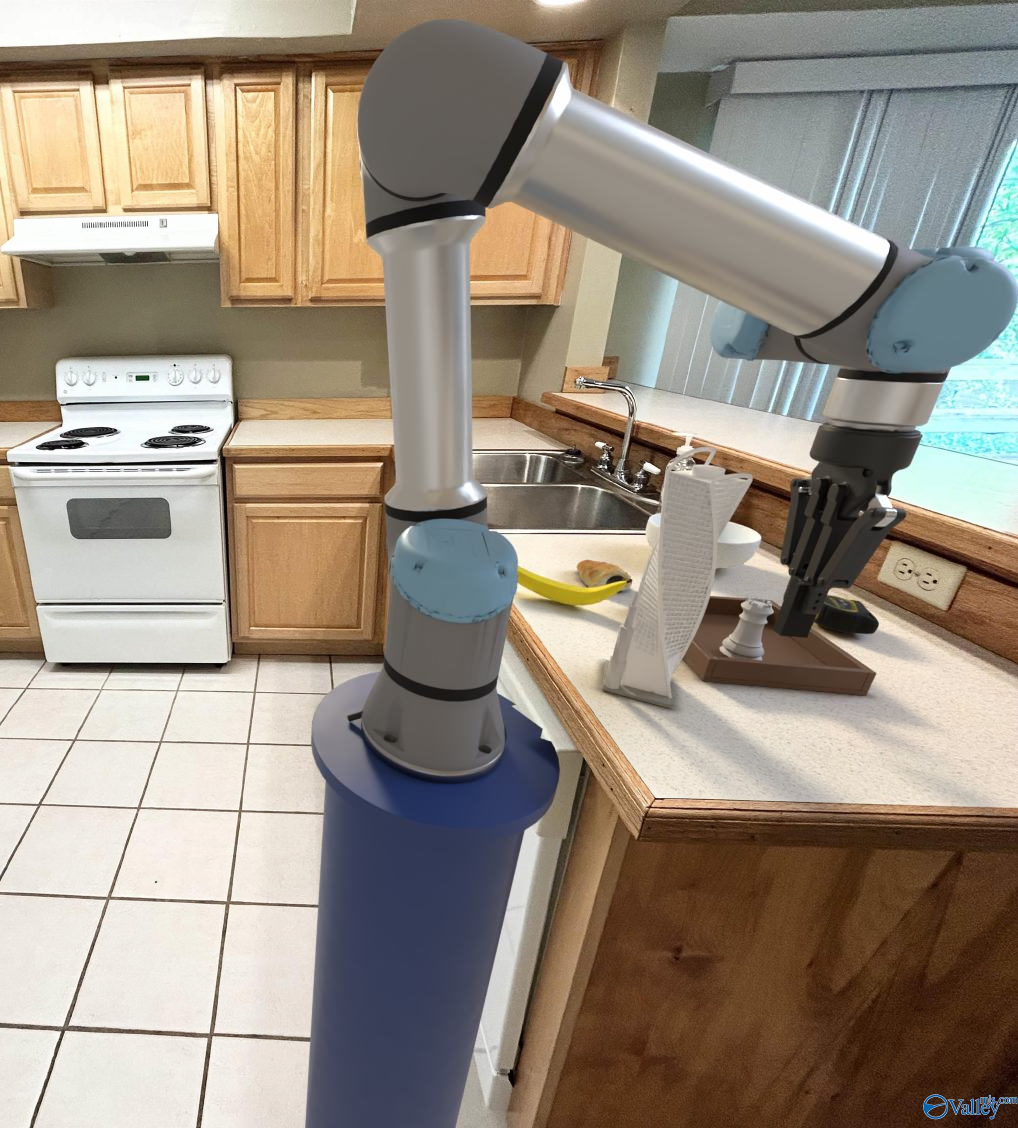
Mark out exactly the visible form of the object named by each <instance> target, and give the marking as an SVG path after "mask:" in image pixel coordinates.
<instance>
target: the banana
mask: <svg viewBox="0 0 1018 1128" xmlns="http://www.w3.org/2000/svg"><path fill="white" fill-rule="evenodd" d="M517 573H518V583H517V584H518V585H520V586H522V587H523V588H525V589H527V590H529V591H530V592H532V593H534V594H537V595H539V596H540V597H543V598H546V599H549V600H550V601H554V602H558V603H560V604H564V605H570V606H581V607H583V606H591V605H595V604H598V603H601V602H603V601H605V600H608V599H609V598H611V597H613V596H614V595H616V594H617V593H619V592H621V591H620V590H621V589H623V588H624V587H625V586H626V585H627V584H628V583H631V582H632V583H633V579H632V578H631V579H629V580H627V581H619V582H615V583H611V584H607V585H604V586H600V587H594V588H589V587H585V586H584V587H583V586H577V585H573V584H568V583H564V582H560V581H558V580H557V581H556V580H554V579H550V578H547V577H545V576H542V575H539V574H537V573H535V572H532V571H530V570H527V569H526V568H524V567H522V566H519V565H518V570H517Z"/></svg>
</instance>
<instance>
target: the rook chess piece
mask: <svg viewBox="0 0 1018 1128" xmlns="http://www.w3.org/2000/svg"><path fill="white" fill-rule="evenodd" d="M746 598H747V599H746V601H745V602H743V603H742V604H741V606H742V608H743V613H742V614H740V615H739V616H740V621H739V623H738V625H737V627H736V629H735V630H734V632H733V633H732V634H730V635H729V637H727V638H726V639H724V640H723V641H722V644H723V646H721V647H720V651H721V653H722V655H723V656H724V657H727V658H739V659H751V660H762V657H761V656H762V655H763V654H764V649H763V647H762V645H763V644H762V642H761V637H762V631H763V627H764V625H765V624H766V623H768V622H767V620H766V618H767V616H769V615H771V614H772V613H774V611H773V609H772V605H773V604H772V602H770V601H767V603H765V600H767V599H766V598H763V597H760V598H759V599H760V601H756V599H758V598H757V596H751V597H750V596H747V597H746ZM750 599H751V600H750Z"/></svg>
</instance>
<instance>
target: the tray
mask: <svg viewBox="0 0 1018 1128" xmlns="http://www.w3.org/2000/svg"><path fill="white" fill-rule="evenodd" d="M747 598H748V597H735V596H734V597H731V596H720V595H719V596H718V595H710V598H709V601H708V604H707V607H706V610H705V613H704V616H703V618H702V620H701V623H700V625H699V628H698V630H697V632H696V634H695V636H694V638H693V640H692V642H691V644H690V646H689V648H688V649H687V651H686V653H685V655H684V657H683V658H682V661H684V663H685V664H687V666H688V667H689V668H690V669H691V670H692V671H693V673H694V674H696V675H697V677H698V678H699V679H700V680H701V681H702V682H711V683H712V682H713V683H722V684H723V683H724V684H736V685H746V686H756V687H768V688H778V689H779V688H781V689H790V690H800V691H801V690H802V691H810V692H811V691H813V692H823V693H833V694H834V693H835V694H845V695H846V694H847V695H857V696H867V695H868V693H869V691H870V689H871V687H872V684H873V682H874V680H875V679H876V676H877V672H876V671H874V670H873V669H872V668H870V667H869V666H868V665H866V664H864V663H863V662H861V661H860V660H859V659H858V658H856V657H854V656H853V655H852V654H850V653H849V652H847V651H846V650H844V649H843V648H842V647H840V646H838V645H837V644H836V643H834V642H833V641H831V640H830V639H829V638H827V637H825V636H824V635H823V634H822V633H820V632H818V631H817V630H816V629H814V628H812V627H811V630H810V632H809V635H808V637H807V638H802V637H789V636H780V635H779V634H778V633H776V632H775V631H774V630H773V627H774V624H775V622H776V619H777V616H778V614H779V611H780V608H781V606H782V605H780V604H778V603H777V602H775V601H774V600H772V599H766V600H765V603H767V601H770V602H772V604H773V605H772V609H773V611H774V613H772V614H771V615H769V616H767V618H766V620H767V622H768V623H766V624H765V625H764V627H763V631H762V637H761V642H762V644H763V645H762V647H763V649H764V654H763V655H762V656H761V657H762V660H751V659H739V658H727V657H724V656H723V655H722V653H721V651H720V647H721V646H723V644H722V641H723V640H724V639H726V638H727V637H729V635H730V634H732V633H733V632H734V630H735V629H736V627H737V625H738V623H739V621H740V616H739V615H740V614H742V613H743V608H742V606H741V604H742V603H743V602H745V601H746V599H747ZM760 599H761V598H757V599H756V601H760ZM750 600H751V599H750Z"/></svg>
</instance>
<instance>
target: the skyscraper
mask: <svg viewBox="0 0 1018 1128" xmlns="http://www.w3.org/2000/svg"><path fill="white" fill-rule="evenodd" d="M702 452H709V453H710V454H709V455H708V457H707V459H706V461H705V462H704V464H694V465H692V468H691V469H690V470H689V469H688V470H673V469H674V468H675V467H676V465H677V464H678V463H679V462H680V461H681V460H682V459H683V458H686V457H688V456H690V455H693V454H696V453H702ZM716 453H717V450H716V448H714V447H711V446H702V447H696V448H693V449H690V450H688V451H685V452H684V453H682V454H681V455H679V456H678V457H677V458H676V459H675V460H674V461H673V462H671V464H670V465H669V467H668V468H667V469H666V471H665V475H664V482H663V483H664V484H663V492H662V500H661V508H660V513H661V517H660V527H659V537H658V539H657V541H656V543H655V545H654V548H652V550H651V552H650V554H649V557H648V560H647V563H646V565H645V568H644V571H643V573H642V577H641V579H640V582H639V583H640V584H639V586H638V590H635V592H634V595H633V600H632V603H631V604H629V605H628V608H627V614H626V617H625V621H624V623H621V624H620V626H619V629H618V633H617V637H616V641H615V645H614V648H613V653H612V655H610V657H609V660H607V659H606V660H605V662H604V669H603V677H602V685H601V690H602V691H605V692H608V693H612V694H615V695H619V696H623V697H627V698H630V699H634V700H638V701H642V702H644V703H649V704H652V705H655V706H660V707H664V708H667V709H673V693H672V691H673V690H672V677H673V675H674V674H675V672H676V670H677V669H678V667H679V665H680V664H681V662H682V661H683V659H682V658H683V657H684V655H685V653H686V651H687V649H688V648H689V646H690V644H691V642H692V640H693V638H694V636H695V634H696V632H697V630H698V628H699V625H700V623H701V620H702V618H703V616H704V613H705V610H706V607H707V604H708V601H709V598H710V596H711V595H712V591H713V586H714V581H715V575H716V570H717V569H716V561H717V540H718V538H719V537H720V535H721V534H722V532H723V530H724V529H725V527H726V525H727V524H728V522H730V521H731V519H732V517H733V515H734V513H735V512H736V510H737V508H738V507H739V506H740V503H741V501H743V498H744V496H745V494H746V493H747V491H748V490H749V488H750V487H751V484H752V482H753V480H754V478H753V477H754V476H753V475H752V474H751V473H748V472H742V473H741V472H740V473H738V472H737V473H730V474H725V473H726V470H727V469H726V468H724V467H721V466H717V465H710V464H711V462H712V460H713V459H714V456H715V454H716Z"/></svg>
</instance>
